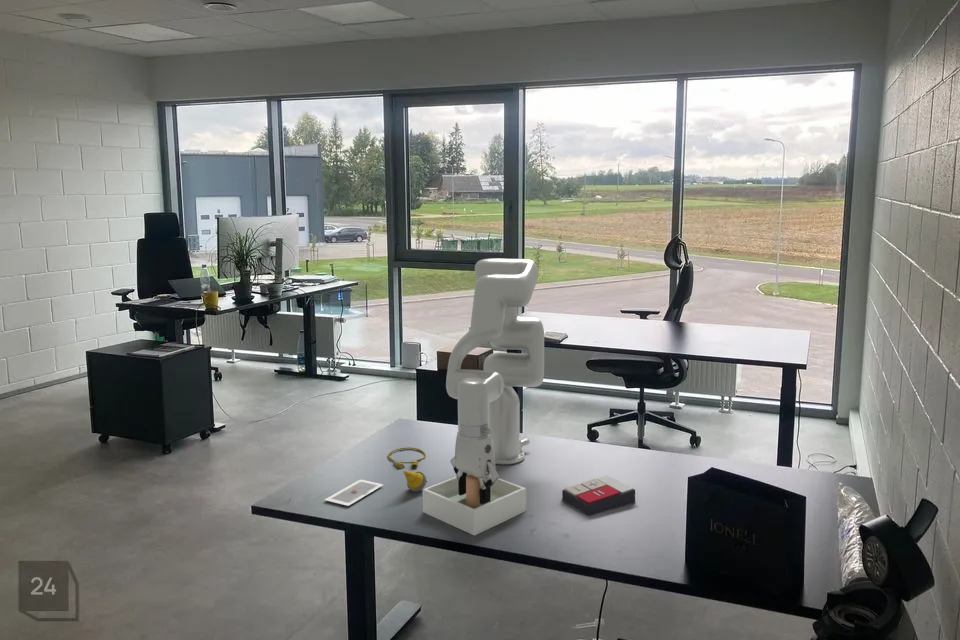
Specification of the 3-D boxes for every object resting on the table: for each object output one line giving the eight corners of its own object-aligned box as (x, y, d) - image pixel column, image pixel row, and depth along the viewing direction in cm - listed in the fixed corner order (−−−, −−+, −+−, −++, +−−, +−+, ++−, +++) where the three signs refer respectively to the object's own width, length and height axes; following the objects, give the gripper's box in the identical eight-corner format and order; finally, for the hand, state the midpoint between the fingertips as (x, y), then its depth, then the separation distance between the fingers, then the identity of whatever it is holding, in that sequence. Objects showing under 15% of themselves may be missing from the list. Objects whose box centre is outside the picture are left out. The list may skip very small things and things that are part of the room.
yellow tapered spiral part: (432, 492, 195) (413, 476, 188) (415, 499, 196) (395, 483, 189) (430, 474, 198) (411, 458, 191) (413, 481, 200) (394, 465, 193)
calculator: (561, 487, 188) (607, 472, 195) (561, 502, 189) (607, 487, 196) (588, 502, 178) (636, 486, 186) (588, 519, 179) (636, 502, 187)
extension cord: (375, 468, 212) (375, 461, 212) (397, 449, 227) (397, 443, 227) (415, 472, 209) (414, 465, 208) (434, 453, 224) (434, 446, 223)
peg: (474, 506, 185) (474, 472, 183) (485, 511, 182) (485, 477, 180) (463, 511, 182) (462, 477, 180) (474, 516, 179) (474, 481, 178)
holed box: (474, 490, 194) (474, 469, 193) (526, 511, 182) (526, 488, 181) (423, 512, 182) (422, 489, 181) (474, 535, 169) (474, 511, 168)
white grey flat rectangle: (324, 503, 188) (323, 495, 188) (360, 483, 201) (360, 475, 201) (348, 509, 185) (348, 501, 184) (383, 488, 198) (383, 480, 197)
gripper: (510, 433, 175) (510, 503, 178) (460, 417, 187) (461, 484, 190) (488, 441, 169) (489, 513, 173) (438, 424, 181) (439, 492, 185)
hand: (474, 497), depth 181 cm, fingers open, 6 cm apart
